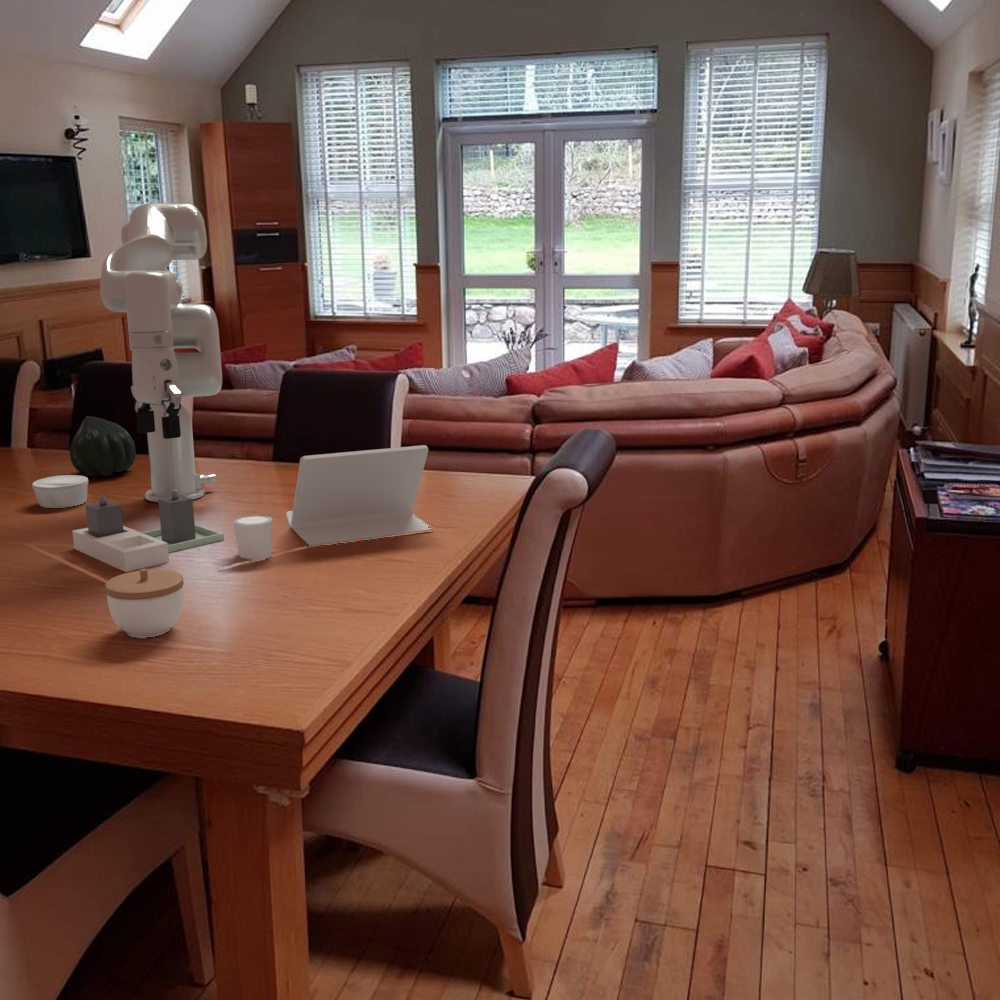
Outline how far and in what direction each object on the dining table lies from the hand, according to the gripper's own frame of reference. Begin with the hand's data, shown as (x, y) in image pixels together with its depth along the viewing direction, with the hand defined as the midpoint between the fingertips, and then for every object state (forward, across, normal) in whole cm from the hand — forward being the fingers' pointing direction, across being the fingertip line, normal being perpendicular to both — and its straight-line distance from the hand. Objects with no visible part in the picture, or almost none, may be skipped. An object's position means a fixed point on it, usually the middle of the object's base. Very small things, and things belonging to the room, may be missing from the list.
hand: (159, 435), depth 192 cm
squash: (+19, +66, -18) cm, 71 cm away
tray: (+20, -2, -1) cm, 21 cm away
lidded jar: (+22, -40, +24) cm, 52 cm away
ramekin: (+20, +44, +2) cm, 48 cm away
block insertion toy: (+21, -3, +11) cm, 24 cm away
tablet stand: (+21, -18, -31) cm, 42 cm away
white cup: (+21, -20, -6) cm, 30 cm away
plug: (+20, -2, -1) cm, 20 cm away
